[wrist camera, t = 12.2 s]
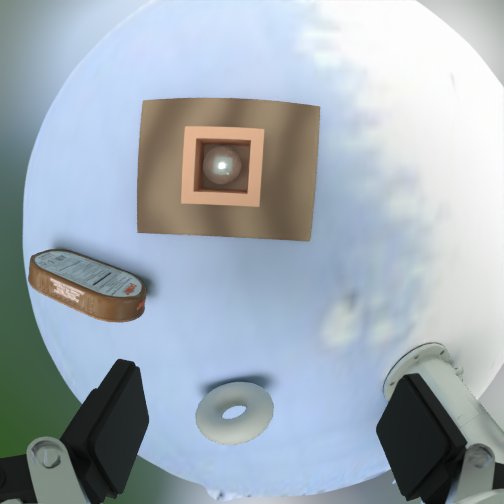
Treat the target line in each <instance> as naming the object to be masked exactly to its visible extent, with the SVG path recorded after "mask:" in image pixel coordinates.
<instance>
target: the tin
mask: <svg viewBox="0 0 504 504" xmlns="http://www.w3.org/2000/svg"><path fill="white" fill-rule="evenodd" d="M28 281H29V283H30V285H31V286H32V288H34V289H35V290H36V291H38V292H40V293H41V294H44V295H46V296H48V297H50V298H52V299H54V300H56V301H58V302H60V303H62V304H64V305H66V306H68V307H70V308H73V309H75V310H77V311H79V312H81V313H84V314H86V315H88V316H90V317H93V318H95V319H98V320H102V321H107V322H128V321H132V320H135V319H137V318H139V317H140V316H141V315H142V314H143V313H144V310H145V306H144V305H145V300H146V292H147V291H146V286H145V284H144V283H143V282H142V281H141V280H140V279H139V278H137V277H136V276H134V275H133V274H131V273H128V272H126V271H123V270H120V269H118V268H115V267H112V266H110V265H107V264H104V263H102V262H99V261H96V260H94V259H91V258H88V257H86V256H83V255H80V254H78V253H75V252H71V251H66V250H59V249H50V250H46V251H43V252H40V253H37V254H35V255H32V257H31V259H30V266H29V276H28Z"/></svg>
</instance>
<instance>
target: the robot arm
mask: <svg viewBox="0 0 504 504" xmlns="http://www.w3.org/2000/svg"><path fill="white" fill-rule="evenodd" d="M462 373H463V368H462V367H459V368H456V369H454V368H453V367H452V366H451V365H450V364H449V353H448V351H447V350H446V349H445V348H444V347H443V346H442V345H440V344H435V343H432V344H426V345H423V346H421V347H419V348H417V349H415V350H413V351H412V352H410V353H408V354H407V355H406V356H405V357H403V358H402V359H401V360H400V361H399V362H398V363H397V364H396V365H395V367H394V368H393V369H392V370H391V372H390V374H389V375H388V377H387V379H386V381H385V385H384V396H385V398H386V400H387V402H388V405H387V407H386V409H385V411H384V413H383V415H382V417H381V419H380V421H379V422H378V424H377V427H376V433H377V435H378V438H379V440H380V443H381V445H382V447H383V450H384V452H385V455H386V457H387V460H388V462H389V464H390V467H391V469H392V472H393V474H394V477H395V480H396V482H397V484H398V487H399V490H400V492H401V494H402V495H403V496H405V497H406V500H407V501H410V500H413V499H416V498H418V497H421V499H422V501H421V504H504V432H503V430H502V429H501V428H500V427H499V426H498V425H497V423H496V422H495V421H494V420H493V418H492V417H491V416H490V415H489V413H488V412H487V411H486V410H485V409H484V407H483V406H482V405H481V404H480V403H479V402H478V400H477V399H476V398H475V396H474V395H473V394H472V393H471V392H470V391H469V389H468V388H467V387H466V386H465V385H464V384H463V379H462V377H461V376H458V375H461V374H462ZM148 424H149V415H148V410H147V406H146V401H145V395H144V390H143V385H142V379H141V373H140V368H139V367H137V366H136V365H135V363H134V362H132V361H127V360H123V359H118V360H117V361H116V362H115V364H114V365H113V366H112V368H111V369H110V371H109V372H108V374H107V375H106V377H105V378H104V380H103V381H102V383H101V384H100V386H99V387H98V388H97V389H96V388H95V389H93V390H92V391H91V392H90V394H89V395H88V397H87V398H86V400H85V401H84V403H83V404H82V406H81V407H80V409H79V410H78V412H77V413H76V415H75V416H74V418H73V419H72V421H71V422H70V424H69V426H68V427H67V429H66V430H65V432H64V434H63V435H62V437H61V438H60V440H57V439H55V438H52V437H41V438H38V439H36V440H34V441H32V442H31V444H30V445H29V446H28V449H27V454H24V455H19V456H13V457H6V458H0V504H102V503H103V502H104V499H105V497H106V496H107V497H110V498H113V499H116V497H117V494H118V493H119V494H122V493H123V491H124V489H125V486H126V483H127V480H128V478H129V475H130V472H131V469H132V467H133V464H134V461H135V459H136V456H137V453H138V451H139V448H140V445H141V443H142V440H143V437H144V435H145V432H146V430H147V427H148Z"/></svg>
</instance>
